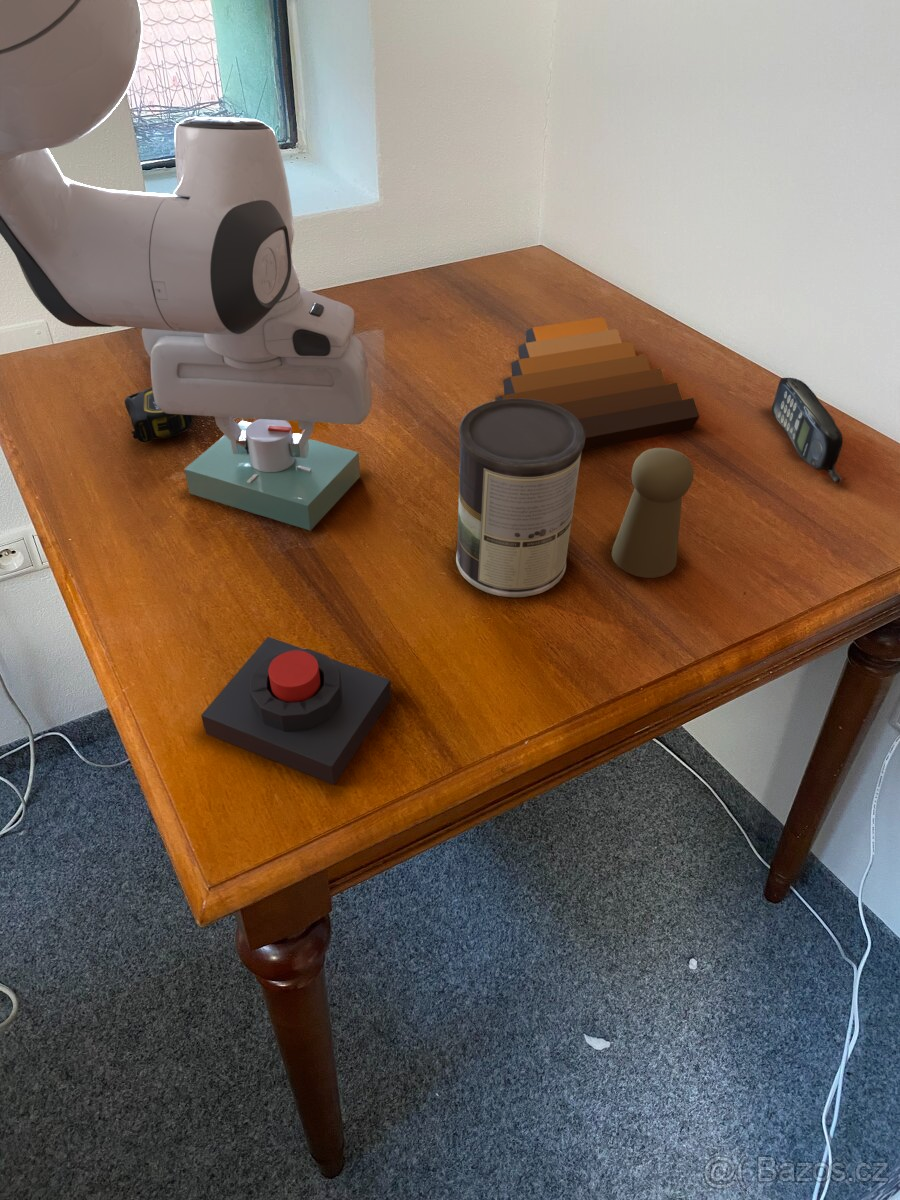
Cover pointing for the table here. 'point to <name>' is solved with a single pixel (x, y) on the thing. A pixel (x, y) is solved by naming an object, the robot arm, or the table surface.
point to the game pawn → (653, 514)
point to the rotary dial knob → (269, 445)
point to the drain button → (294, 676)
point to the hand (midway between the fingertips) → (271, 452)
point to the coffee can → (516, 495)
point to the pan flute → (598, 383)
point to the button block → (299, 713)
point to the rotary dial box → (275, 481)
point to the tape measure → (153, 418)
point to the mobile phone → (808, 425)
